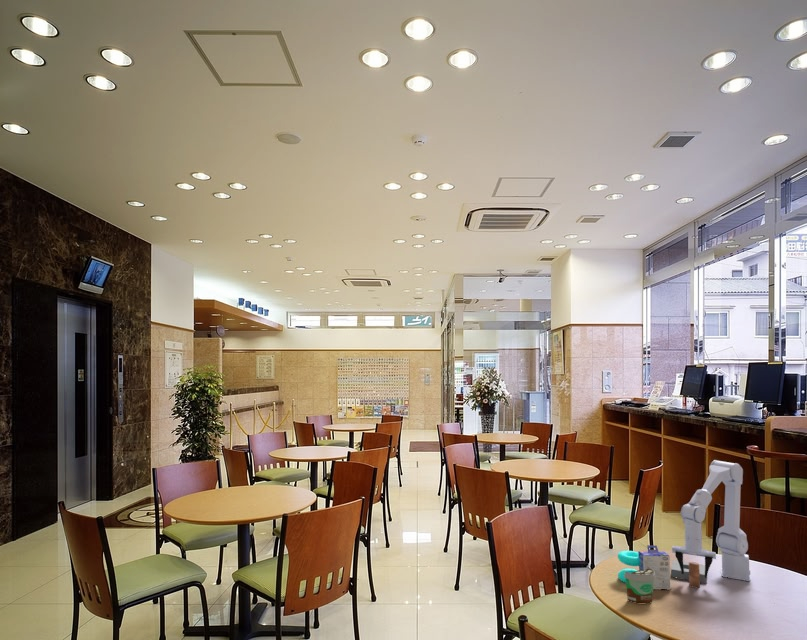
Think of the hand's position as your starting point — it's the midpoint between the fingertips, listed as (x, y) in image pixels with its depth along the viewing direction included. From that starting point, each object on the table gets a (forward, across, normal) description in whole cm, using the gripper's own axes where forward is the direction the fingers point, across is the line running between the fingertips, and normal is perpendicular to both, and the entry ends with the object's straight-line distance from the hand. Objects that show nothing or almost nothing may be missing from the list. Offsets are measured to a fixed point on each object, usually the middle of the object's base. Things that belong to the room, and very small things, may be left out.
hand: (694, 575), depth 211 cm
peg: (+4, 0, 0) cm, 4 cm away
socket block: (+4, -2, +11) cm, 12 cm away
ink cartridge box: (+4, -13, -9) cm, 16 cm away
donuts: (+4, -21, -7) cm, 22 cm away
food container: (+4, -15, -25) cm, 29 cm away
